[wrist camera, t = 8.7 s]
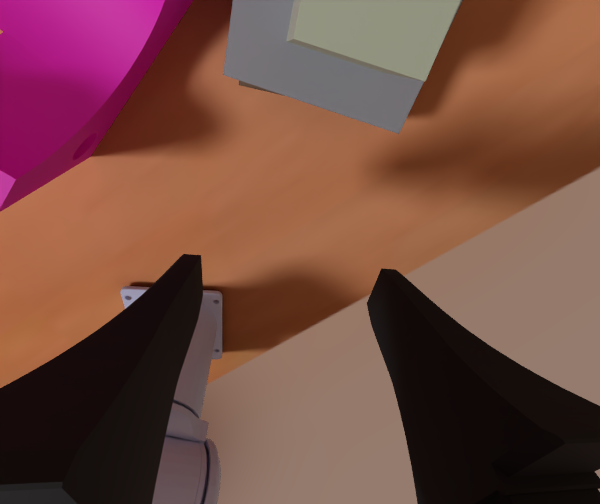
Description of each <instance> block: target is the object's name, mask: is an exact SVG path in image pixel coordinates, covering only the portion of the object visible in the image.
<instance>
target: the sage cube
mask: <svg viewBox="0 0 600 504" xmlns="http://www.w3.org/2000/svg"><path fill="white" fill-rule="evenodd" d="M460 1H461V0H294V2H293V8H292V13H291V18H290V24H289V29H288V35H287V40H286V42H289V43H292V44H295V45H299V46H302V47H305V48H308V49H311V50H314V51H317V52H320V53H323V54H326V55H330V56H333V57H336V58H339V59H342V60H345V61H348V62H351V63H354V64H357V65H361V66H364V67H367V68H370V69H373V70H376V71H379V72H383V73H387V74H392V75H396V76H401V77H406V78H410V79H415V80H420V81H424V82H425V81H426V79H427V77H428V74H429V72H430V70H431V67H432V65H433V63H434V61H435V58H436V56H437V54H438V51H439V49H440V47H441V45H442V42H443V40H444V38H445V35H446V33H447V31H448V29H449V26H450V24H451V22H452V19H453V17H454V15H455V13H456V10H457V8H458V6H459V4H460Z"/></svg>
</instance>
